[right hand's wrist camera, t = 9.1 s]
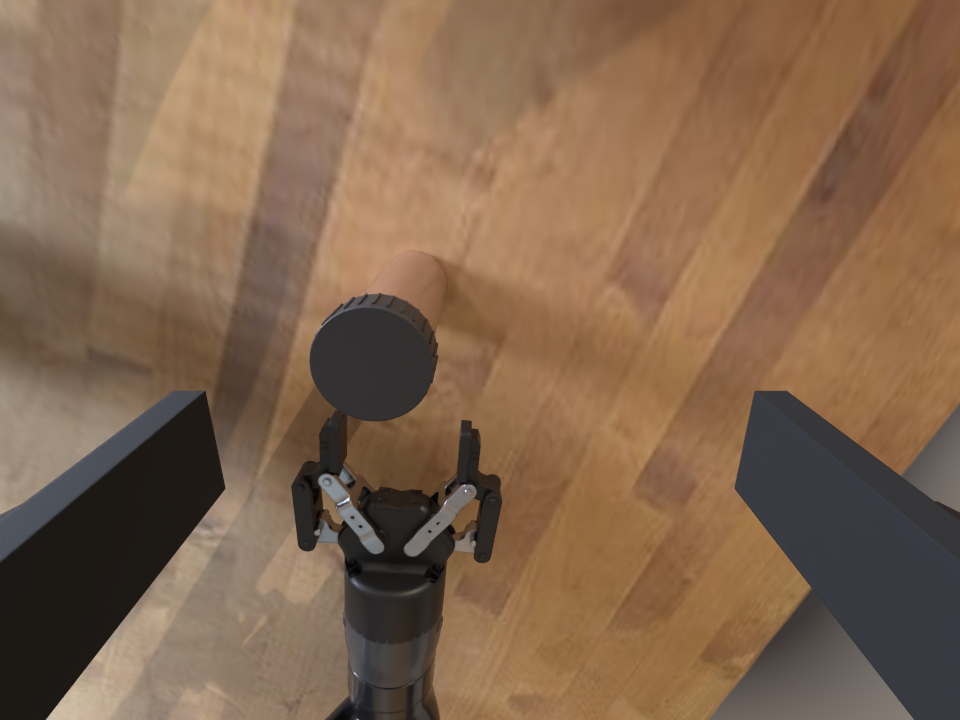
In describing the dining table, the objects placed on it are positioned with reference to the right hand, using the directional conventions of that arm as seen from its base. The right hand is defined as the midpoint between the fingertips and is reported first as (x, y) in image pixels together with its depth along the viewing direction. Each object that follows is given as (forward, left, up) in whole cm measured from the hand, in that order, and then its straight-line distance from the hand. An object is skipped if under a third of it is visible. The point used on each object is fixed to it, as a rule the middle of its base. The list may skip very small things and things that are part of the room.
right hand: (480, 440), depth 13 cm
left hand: (+2, -11, -20) cm, 23 cm away
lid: (-2, -4, -10) cm, 11 cm away
